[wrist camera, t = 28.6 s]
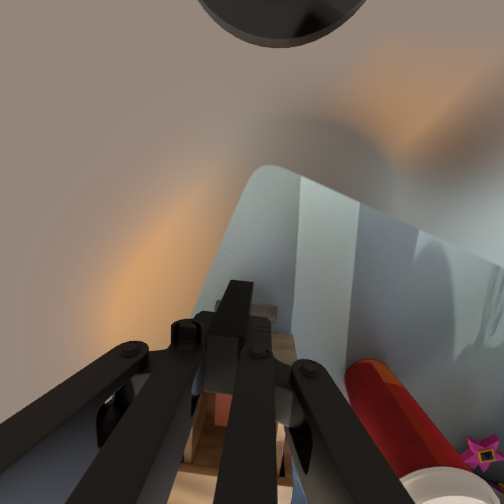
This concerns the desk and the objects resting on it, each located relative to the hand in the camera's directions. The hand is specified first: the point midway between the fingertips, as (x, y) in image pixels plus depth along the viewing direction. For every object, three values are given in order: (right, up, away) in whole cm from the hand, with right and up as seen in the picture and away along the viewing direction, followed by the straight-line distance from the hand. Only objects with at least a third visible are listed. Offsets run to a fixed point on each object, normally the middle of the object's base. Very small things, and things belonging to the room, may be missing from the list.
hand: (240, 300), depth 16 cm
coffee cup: (+16, -13, +16) cm, 26 cm away
